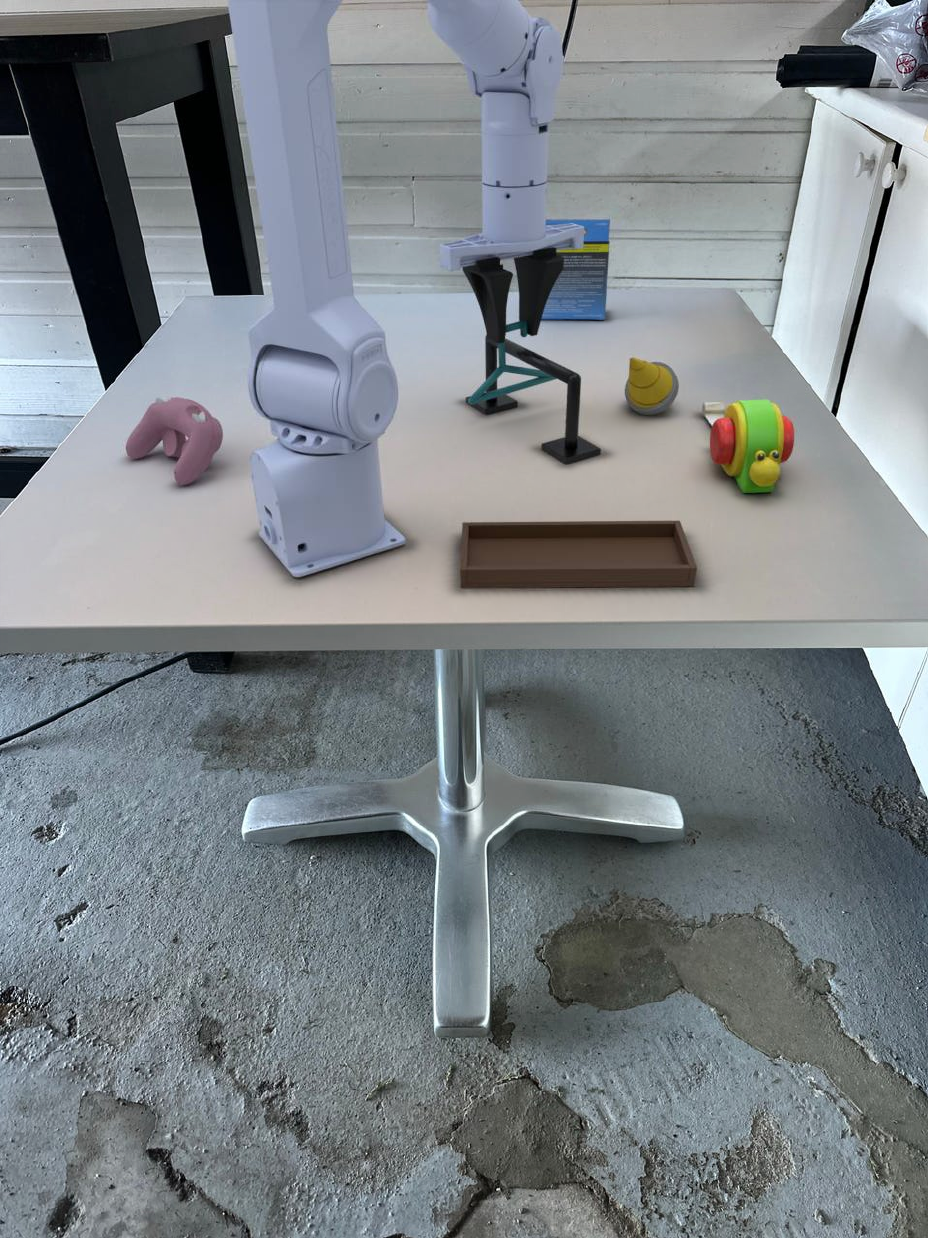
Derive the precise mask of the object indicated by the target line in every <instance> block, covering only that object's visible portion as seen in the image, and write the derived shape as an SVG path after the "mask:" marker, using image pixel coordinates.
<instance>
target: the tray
mask: <svg viewBox="0 0 928 1238" xmlns="http://www.w3.org/2000/svg"><path fill="white" fill-rule="evenodd" d="M461 525H462V527H461V542H460V543H461V545H460V546H461V547H460V564H459V567H460V568H459V577H460V581H459V582H460V589H474V588H475V589H487V588H488V589H489V588H490V589H491V588H492V589H494V588H495V589H497V588H498V589H499V588H501V589H502V588H506V589H507V588H508V589H509V588H511V589H512V588H513V589H514V588H636V587H637V588H639V587H640V588H643V587H644V588H646V587H649V588H651V587H653V588H655V587H658V588H659V587H663V588H665V587H671V588H672V587H695V584H696V582H695V581H696V577H697V572H698V571H697V570H698V568H697V564H696V562H695V559H694V556H693V554H692V550H691V548H690V545H689V542H688V540H687V539H688V538H687V537H686V533H685V531H684V528H683V526H682V523H681V520H596V521H595V520H587V521H585V520H584V521H583V520H582V521H581V520H580V521H578V520H577V521H576V520H575V521H574V520H573V521H570V520H569V521H473V522H472V521H471V522H467V521H465V522H462V524H461Z"/></svg>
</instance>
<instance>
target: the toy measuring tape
mask: <svg viewBox="0 0 928 1238" xmlns="http://www.w3.org/2000/svg"><path fill="white" fill-rule="evenodd" d="M725 403H726V402H724V401H723V402H722V401H718V402H717V401H716V402H715V401H714V402H713V401H711V402H710V401H706V402H705V401H703V403H702V406H701V407H702V408H701V414H702V417H705V419H706V420H707V421H708V423H709V424H710V426H711V429H710V434H709V436H710V437H709V451H710V458H711V461H713V462H714V463H715V464H716V465H720V466H721V467H722V469H723V470H724V472H725V473H726V475H728V476H729V477H734V479H735V481H736V483H737V485H738V487H739V489H740V491H741V493H742V494H756V493H757V494H758V493H759V494H760V493H773V491H774V489H775V488H774V487H775V485H774V484H775V483H776V482H777V481H778V480H779V478H780V475H781V467H780V464H782V463H785V462H787V461H788V460H789V458H791V456H792V454H793V451H794V447H795V446H794V445H795V428H794V424H793V422H792V420H791V419H790V418H789V417H788V416H786V415H783V414H782V411H781V409H780V407H779V406H778V405H777V404H776V403H775V402H772V401H771V400H770V399H766V398H763V399H741V400H737V401H735V402H732V403H729V405H728V406H727V407H726V404H725Z"/></svg>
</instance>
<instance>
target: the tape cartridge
mask: <svg viewBox="0 0 928 1238" xmlns="http://www.w3.org/2000/svg"><path fill="white" fill-rule="evenodd" d="M569 223H573V224H577V225H580V226H583V227H584V242H583V248H581V249H571V248H569V249H563V250H557V251H556V255H558V256H561V257H563V258H564V269H563V270H562V272H561V274H560V275H559V277H558V278H557V280H556V282H555V284H554V286H553V288H552V290H551V292H550V295H549V297H548V300H547V302H546V305H545V308H544V312H543V315H542V318H541V321H542V320H594V321H595V320H596V321H597V320H599V321H603V320H605V318H606V311H607V309H606V308H607V298H608V297H607V295H608V275H609V261H610V260H609V259H610V226H611V225H610V224H611V219H609V218H606V219H605V218H604V219H603V218H602V219H596V218H595V219H592V218H591V219H590V218H589V219H578V218H575V219H574V218H573V219H566V218H565V219H564V218H563V219H547V218H546V226H549V225H562V224H569Z"/></svg>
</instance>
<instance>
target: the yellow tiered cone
mask: <svg viewBox="0 0 928 1238" xmlns="http://www.w3.org/2000/svg"><path fill="white" fill-rule="evenodd" d="M628 365H629V367H628V377H627V380H626V382H625V386H624V397H625V400H626V403H627V404H628V405H629V407H630V408H631V409H632V410H633V411H634V412H636V413H637V414H640V415H642V416H653V415H657V414H660V413H662V412H664V411H665V410H666V409H668V408H669V407H670V406H671V405H673V403H674V402H675V400H676V398H677V396H678V393H679V387H680V383H679V378H678V376H677V374H676V373H675V371H674V370H673V369H672V367H671V366H670V365H668V364H666V363H664V362H660V361H651V362H649V361H646V360H643V359H639V358H636V357H629V364H628Z"/></svg>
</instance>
